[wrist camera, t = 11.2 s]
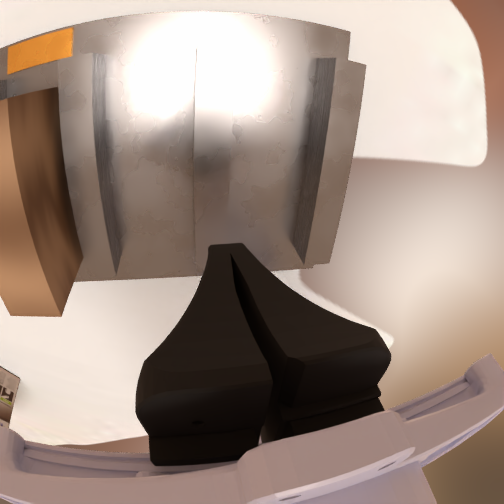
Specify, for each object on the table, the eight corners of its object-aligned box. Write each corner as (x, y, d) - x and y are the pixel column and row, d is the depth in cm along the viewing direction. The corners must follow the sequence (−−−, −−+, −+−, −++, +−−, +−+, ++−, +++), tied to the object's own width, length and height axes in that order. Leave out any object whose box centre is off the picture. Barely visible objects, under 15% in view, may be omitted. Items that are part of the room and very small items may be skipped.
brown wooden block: (86, 249, 20) (61, 316, 14) (43, 252, 19) (10, 315, 14) (64, 85, 13) (7, 98, 8) (14, 98, 13) (-50, 120, 7)
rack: (310, 263, 26) (325, 289, 23) (29, 278, 21) (15, 305, 18) (346, 32, 15) (373, 29, 13) (-12, 55, 10) (-39, 57, 8)
